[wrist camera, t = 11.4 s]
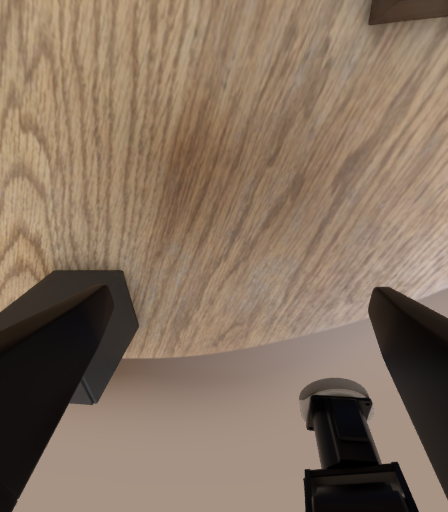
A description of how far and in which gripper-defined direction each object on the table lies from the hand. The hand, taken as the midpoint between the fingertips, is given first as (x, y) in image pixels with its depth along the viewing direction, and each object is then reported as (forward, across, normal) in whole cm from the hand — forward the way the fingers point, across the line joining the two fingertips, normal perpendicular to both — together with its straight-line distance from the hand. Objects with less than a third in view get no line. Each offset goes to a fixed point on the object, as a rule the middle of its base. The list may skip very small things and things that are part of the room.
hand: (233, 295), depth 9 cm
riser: (+12, +15, +10) cm, 22 cm away
